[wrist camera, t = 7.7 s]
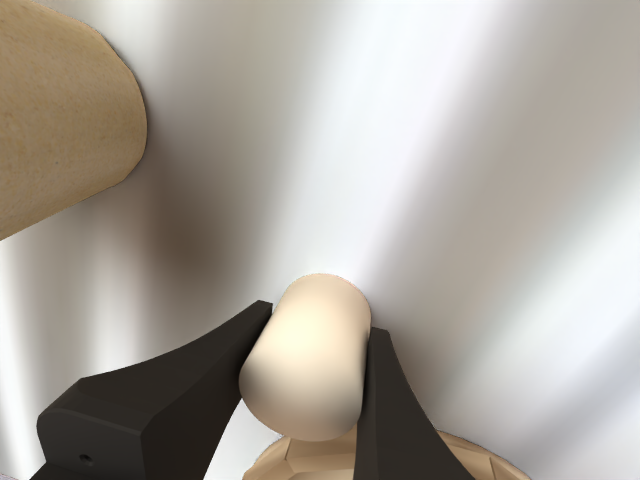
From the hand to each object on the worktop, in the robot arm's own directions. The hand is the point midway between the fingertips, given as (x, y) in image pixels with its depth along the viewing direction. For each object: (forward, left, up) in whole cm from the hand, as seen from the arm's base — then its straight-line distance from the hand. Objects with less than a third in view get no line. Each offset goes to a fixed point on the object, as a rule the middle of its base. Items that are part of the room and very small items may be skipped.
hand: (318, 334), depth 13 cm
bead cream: (0, 0, -1) cm, 1 cm away
